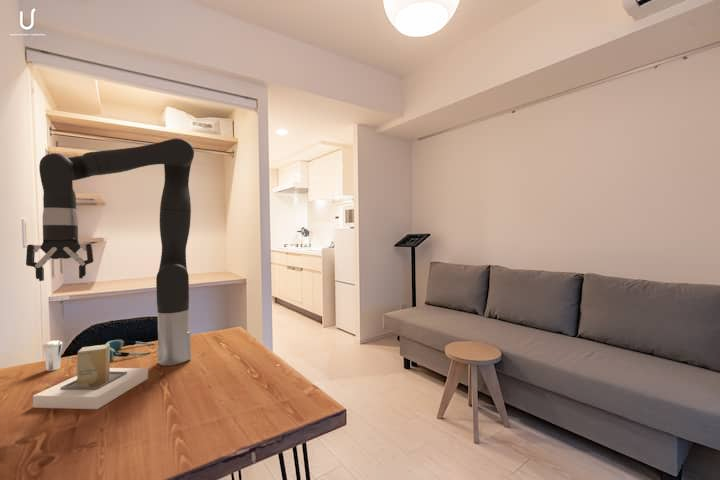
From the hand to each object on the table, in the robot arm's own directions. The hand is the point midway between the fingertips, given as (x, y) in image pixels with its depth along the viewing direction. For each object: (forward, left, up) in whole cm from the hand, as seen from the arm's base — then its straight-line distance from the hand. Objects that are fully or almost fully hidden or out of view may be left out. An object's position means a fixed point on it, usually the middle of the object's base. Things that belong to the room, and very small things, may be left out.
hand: (61, 279), depth 94 cm
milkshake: (+4, -14, -30) cm, 34 cm away
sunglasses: (-16, -18, -31) cm, 39 cm away
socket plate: (-8, +14, -30) cm, 34 cm away
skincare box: (-8, +14, -30) cm, 34 cm away
